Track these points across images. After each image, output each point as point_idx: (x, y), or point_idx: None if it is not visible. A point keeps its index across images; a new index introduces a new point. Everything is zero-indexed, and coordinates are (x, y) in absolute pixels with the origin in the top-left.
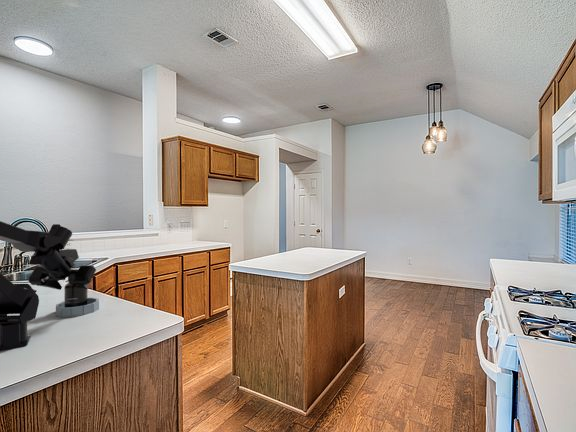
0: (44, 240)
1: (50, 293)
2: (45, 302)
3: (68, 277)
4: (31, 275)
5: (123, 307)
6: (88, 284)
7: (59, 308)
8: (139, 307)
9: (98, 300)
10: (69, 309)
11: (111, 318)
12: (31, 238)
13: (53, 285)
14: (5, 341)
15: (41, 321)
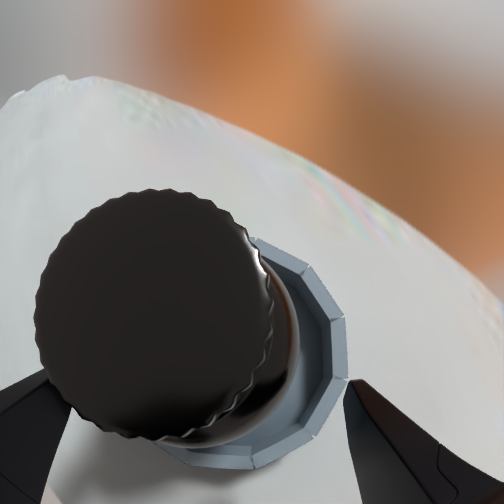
0: None
1: (47, 128)
2: (41, 205)
3: (62, 389)
4: None
5: (431, 300)
6: (390, 414)
7: (169, 451)
8: (482, 299)
9: (337, 308)
10: (241, 467)
11: (452, 448)
12: None
13: (37, 466)
14: None
15: (142, 488)
